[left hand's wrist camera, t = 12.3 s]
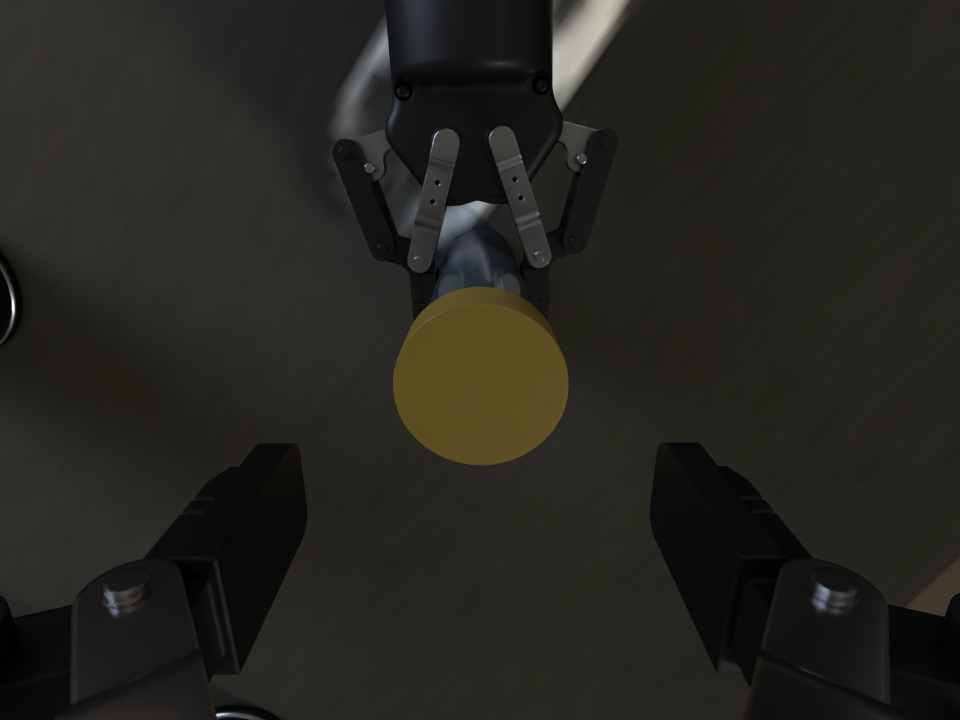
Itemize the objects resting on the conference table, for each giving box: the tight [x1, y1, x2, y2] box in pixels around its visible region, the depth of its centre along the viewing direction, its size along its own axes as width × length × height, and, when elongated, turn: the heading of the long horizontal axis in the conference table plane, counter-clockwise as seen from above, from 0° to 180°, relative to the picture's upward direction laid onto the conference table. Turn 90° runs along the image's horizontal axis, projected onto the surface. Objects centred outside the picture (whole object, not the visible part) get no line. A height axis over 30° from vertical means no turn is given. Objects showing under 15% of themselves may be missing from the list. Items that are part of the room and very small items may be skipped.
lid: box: [393, 287, 569, 465], centre depth 17 cm, size 5×5×2 cm
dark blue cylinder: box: [429, 229, 531, 305], centre depth 26 cm, size 4×4×20 cm
